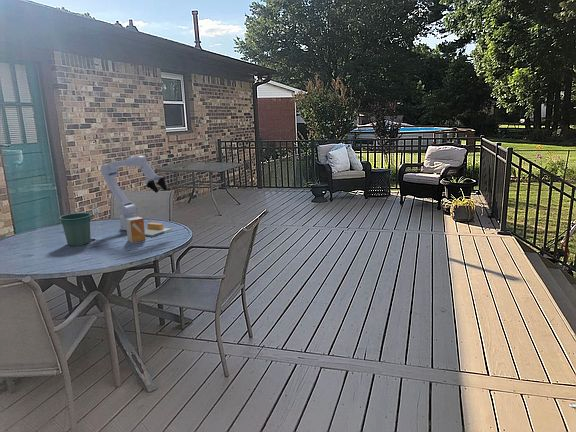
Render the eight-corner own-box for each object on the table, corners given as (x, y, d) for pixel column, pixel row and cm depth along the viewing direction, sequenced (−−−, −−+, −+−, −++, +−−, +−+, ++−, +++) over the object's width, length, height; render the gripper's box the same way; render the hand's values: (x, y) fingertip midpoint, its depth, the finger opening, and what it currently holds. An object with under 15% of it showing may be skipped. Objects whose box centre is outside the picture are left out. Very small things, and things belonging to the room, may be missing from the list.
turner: (145, 230, 278) (145, 224, 277) (153, 227, 284) (152, 221, 283) (164, 232, 272) (163, 226, 271) (171, 229, 278) (171, 223, 277)
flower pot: (82, 247, 243) (78, 219, 239) (56, 246, 246) (52, 218, 243) (100, 239, 259) (97, 212, 255) (75, 238, 262) (72, 212, 258)
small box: (132, 242, 250) (130, 220, 247) (127, 240, 254) (125, 218, 252) (145, 239, 255) (143, 218, 253) (140, 238, 260) (138, 216, 257)
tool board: (127, 234, 269) (127, 232, 269) (139, 230, 278) (138, 228, 278) (152, 237, 261) (152, 235, 261) (164, 233, 270) (163, 231, 270)
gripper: (144, 170, 259) (157, 189, 259) (160, 167, 272) (173, 184, 272) (137, 177, 263) (150, 195, 262) (154, 173, 276) (166, 191, 275)
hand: (161, 190), depth 267 cm, fingers open, 7 cm apart
